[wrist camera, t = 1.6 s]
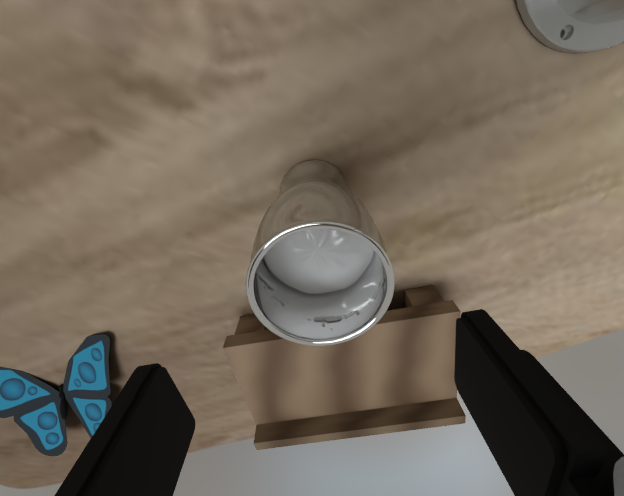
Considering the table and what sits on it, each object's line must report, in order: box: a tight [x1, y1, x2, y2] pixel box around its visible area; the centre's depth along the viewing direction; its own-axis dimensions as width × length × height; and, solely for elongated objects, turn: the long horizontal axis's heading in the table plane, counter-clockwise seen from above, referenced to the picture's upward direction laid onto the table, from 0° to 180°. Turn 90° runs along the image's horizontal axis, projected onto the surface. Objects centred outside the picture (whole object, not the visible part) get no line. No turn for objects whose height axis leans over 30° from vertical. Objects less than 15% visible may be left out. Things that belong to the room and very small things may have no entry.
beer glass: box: [246, 160, 395, 346], centre depth 20 cm, size 7×7×15 cm
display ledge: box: [223, 285, 465, 450], centre depth 31 cm, size 22×13×7 cm, turn 101°
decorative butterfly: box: [0, 334, 112, 456], centre depth 36 cm, size 20×14×3 cm
